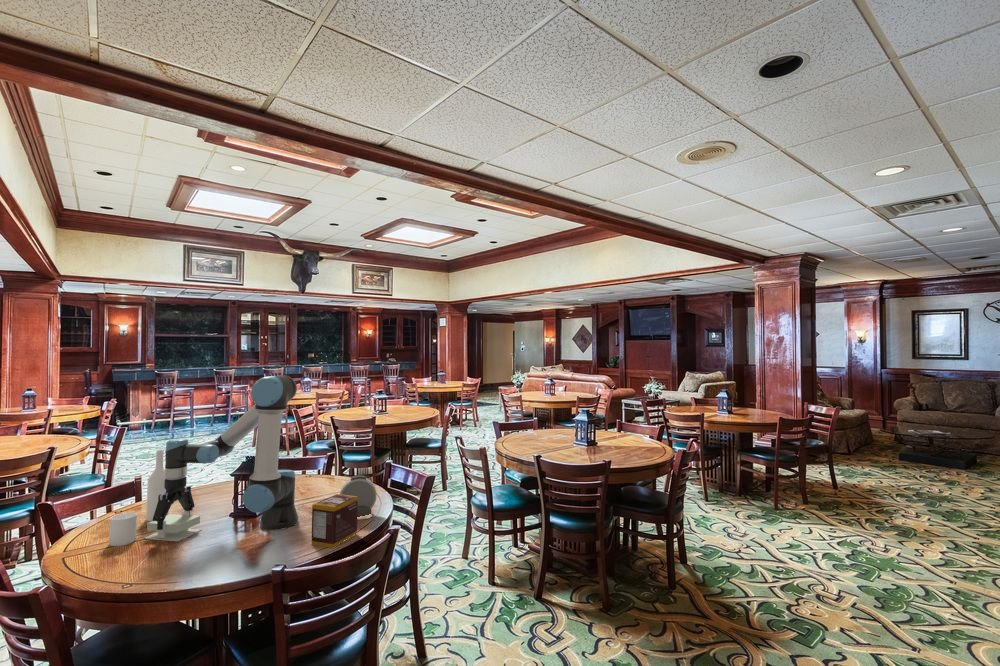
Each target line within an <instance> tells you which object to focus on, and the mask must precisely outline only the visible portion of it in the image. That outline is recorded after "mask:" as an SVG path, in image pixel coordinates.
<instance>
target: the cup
mask: <svg viewBox="0 0 1000 666" xmlns="http://www.w3.org/2000/svg"><path fill="white" fill-rule="evenodd" d="M137 521H138V513H136V512H125V513H123V512H122V513H119V514H115V515H112V516H111V517H110V518H109V531H108V533H109V535H108V536H109V537H108V545H109V546H111V547H121V546H126V545H130V544H132V543H134V542H135V541H136V539H137V528H138V527H137V525H138V523H137Z"/></svg>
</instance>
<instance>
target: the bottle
mask: <svg viewBox="0 0 1000 666" xmlns="http://www.w3.org/2000/svg"><path fill="white" fill-rule="evenodd" d="M164 452H165V450H163V449H157V450H156V457H155V459H156V460H155V468H154V470H153V471H152V473H151V474H150V476H149V477H148V480H147V491H146V492H147V493H146V494H147V495H146V513H145V514H146V517H145V519H146V521H147V522H151V521H153V516H154V513H155V510H156V507H157V503H158V496H159V495H160V494H161V495H163V494H165V493H166V489H165V488H164V482H165V479H166V478H165V467H164ZM168 501H169V500H168ZM169 511H170V510H169ZM169 511H168V513H167V515H169ZM167 515H166V516H167ZM161 518H162V517H161Z"/></svg>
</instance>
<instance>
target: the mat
mask: <svg viewBox="0 0 1000 666" xmlns="http://www.w3.org/2000/svg"><path fill="white" fill-rule="evenodd" d="M200 531H202V529H201V528H200V529H199V528H188V529H186V530H183V531H181V532H179V533H174V532H166V534H165V538H158V531H156V532H155V533H153V534H151V535H148V536H145V537H144V540H154V541H155V540H156V541H166V542H167V541H169V542H179V541H182V540H183V539H185V538H188V537H190V536H192V535H194V534H197V533H198V532H200Z"/></svg>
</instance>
